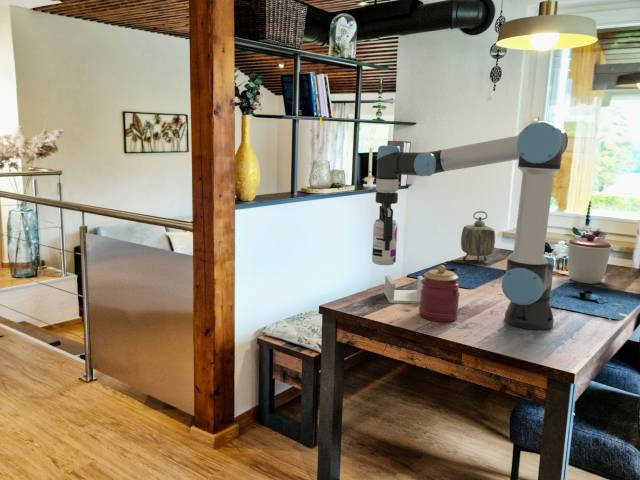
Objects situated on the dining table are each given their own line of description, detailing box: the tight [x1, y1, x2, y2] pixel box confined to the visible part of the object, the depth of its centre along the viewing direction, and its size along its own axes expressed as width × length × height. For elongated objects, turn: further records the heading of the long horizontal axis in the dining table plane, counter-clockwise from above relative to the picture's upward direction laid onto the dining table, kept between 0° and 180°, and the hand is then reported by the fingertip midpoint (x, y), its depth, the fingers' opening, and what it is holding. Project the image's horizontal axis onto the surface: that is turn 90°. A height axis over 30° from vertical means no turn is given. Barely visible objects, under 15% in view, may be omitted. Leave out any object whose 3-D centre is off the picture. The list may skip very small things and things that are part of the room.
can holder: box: [383, 274, 425, 305], centre depth 207 cm, size 14×14×7 cm
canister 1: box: [418, 264, 461, 323], centre depth 186 cm, size 13×13×18 cm
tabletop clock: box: [460, 210, 496, 264], centre depth 272 cm, size 14×9×25 cm, turn 94°
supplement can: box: [371, 218, 398, 266], centre depth 192 cm, size 8×8×15 cm
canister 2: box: [566, 232, 614, 285], centre depth 240 cm, size 18×18×21 cm
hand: (384, 256), depth 193 cm, fingers closed on supplement can, 8 cm apart
